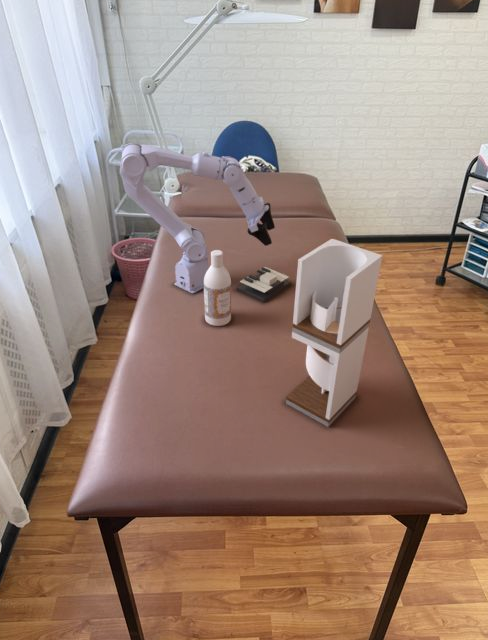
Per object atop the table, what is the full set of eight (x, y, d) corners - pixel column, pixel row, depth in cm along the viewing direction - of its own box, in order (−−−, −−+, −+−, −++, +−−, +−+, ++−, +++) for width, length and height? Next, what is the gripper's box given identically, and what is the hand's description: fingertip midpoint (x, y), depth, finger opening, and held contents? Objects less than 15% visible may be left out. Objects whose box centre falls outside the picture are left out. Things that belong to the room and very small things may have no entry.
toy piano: (290, 285, 151) (291, 276, 149) (263, 303, 143) (263, 294, 141) (264, 274, 156) (264, 265, 155) (236, 290, 148) (236, 281, 146)
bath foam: (213, 329, 132) (211, 261, 120) (200, 317, 136) (197, 250, 125) (235, 321, 135) (236, 254, 123) (222, 309, 139) (221, 243, 128)
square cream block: (276, 282, 147) (277, 275, 146) (269, 286, 145) (269, 280, 144) (267, 277, 149) (267, 271, 148) (259, 282, 147) (259, 276, 146)
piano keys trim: (289, 277, 149) (289, 274, 149) (264, 292, 142) (264, 290, 141) (265, 267, 154) (265, 265, 153) (239, 281, 146) (239, 279, 146)
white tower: (314, 377, 117) (332, 238, 97) (355, 397, 111) (382, 255, 92) (286, 403, 110) (298, 259, 90) (328, 427, 104) (350, 279, 84)
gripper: (256, 208, 132) (279, 246, 140) (263, 179, 143) (284, 217, 150) (233, 217, 135) (257, 254, 143) (242, 189, 146) (264, 225, 153)
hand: (270, 236), depth 147 cm, fingers open, 7 cm apart
